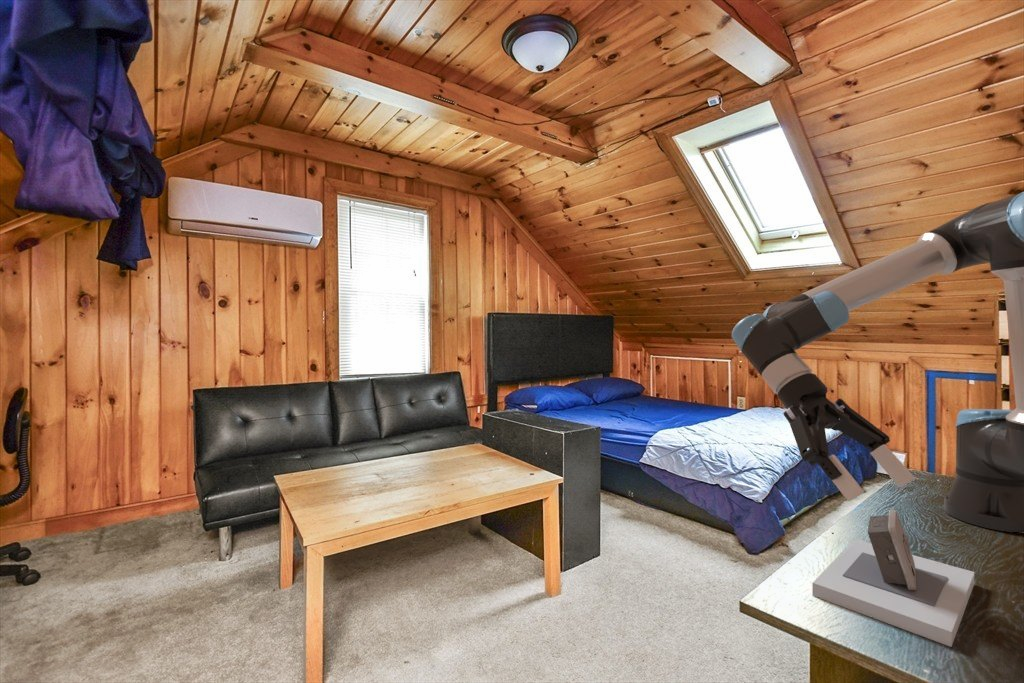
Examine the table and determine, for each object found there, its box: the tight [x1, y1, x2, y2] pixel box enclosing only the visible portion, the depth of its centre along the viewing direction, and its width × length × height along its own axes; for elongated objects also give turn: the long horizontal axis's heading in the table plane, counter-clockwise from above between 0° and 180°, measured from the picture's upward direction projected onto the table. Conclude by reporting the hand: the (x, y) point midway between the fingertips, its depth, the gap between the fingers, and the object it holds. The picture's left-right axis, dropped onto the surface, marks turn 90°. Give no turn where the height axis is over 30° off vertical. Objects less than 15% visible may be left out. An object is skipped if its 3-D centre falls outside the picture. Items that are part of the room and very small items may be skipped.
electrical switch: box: [867, 509, 916, 590], centre depth 76 cm, size 9×5×9 cm, turn 141°
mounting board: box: [811, 538, 975, 648], centre depth 76 cm, size 22×16×2 cm
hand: (883, 490), depth 77 cm, fingers open, 13 cm apart
